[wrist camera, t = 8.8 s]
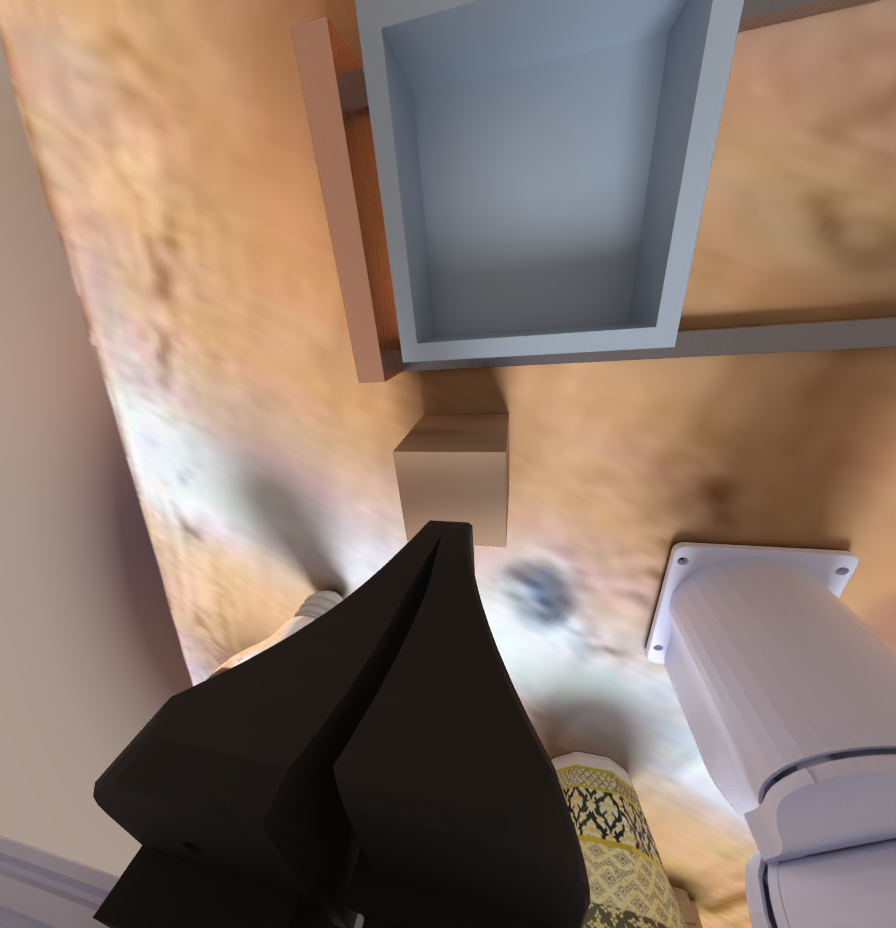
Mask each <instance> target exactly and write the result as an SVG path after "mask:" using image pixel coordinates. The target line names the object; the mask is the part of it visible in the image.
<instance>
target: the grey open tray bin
mask: <svg viewBox="0 0 896 928" xmlns="http://www.w3.org/2000/svg"><path fill="white" fill-rule="evenodd" d="M743 3H744V0H355V8H356V15H357V23H358V30H359V38H360V45H361V53H362V60H363V68H364V75H365V83H366V90H367V98H368V105H369V113H370V120H371V128H372V135H373V143H374V150H375V158H376V165H377V173H378V180H379V188H380V195H381V203H382V210H383V218H384V225H385V233H386V240H387V248H388V255H389V263H390V270H391V278H392V285H393V293H394V300H395V308H396V315H397V323H398V330H399V338H400V345H401V353H402V360H403V362H420V361H437V360H455V359H473V358H490V357H508V356H525V355H543V354H561V353H578V352H596V351H614V350H631V349H649V348H667V347H675V343H676V338H677V333H678V328H679V323H680V318H681V313H682V308H683V303H684V298H685V293H686V288H687V283H688V278H689V273H690V268H691V263H692V258H693V253H694V248H695V243H696V238H697V233H698V228H699V223H700V218H701V213H702V208H703V203H704V198H705V193H706V188H707V183H708V178H709V173H710V168H711V163H712V158H713V153H714V148H715V143H716V138H717V133H718V128H719V123H720V118H721V113H722V108H723V103H724V98H725V93H726V88H727V83H728V78H729V73H730V68H731V63H732V58H733V53H734V48H735V43H736V38H737V33H738V28H739V23H740V18H741V13H742V8H743Z"/></svg>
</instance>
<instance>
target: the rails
mask: <svg viewBox="0 0 896 928" xmlns="http://www.w3.org/2000/svg"><path fill="white" fill-rule="evenodd" d="M874 1H879V0H744V3H743V8H742V13H741V18H740V23H739V28H738V32H741V31H746V30H750V29H754V28H759V27H763V26H768V25H772V24H777V23H781V22H785V21H790V20H794V19H799V18H803V17H808V16H812V15H817V14H821V13H825V12H830V11H834V10H839V9H843V8H848V7H852V6H856V5H861V4H865V3H870V2H874ZM290 28H291V33H292V38H293V44H294V49H295V54H296V59H297V64H298V69H299V75H300V80H301V85H302V90H303V95H304V101H305V106H306V111H307V116H308V121H309V127H310V132H311V137H312V142H313V147H314V152H315V158H316V163H317V168H318V173H319V178H320V184H321V189H322V194H323V199H324V204H325V209H326V215H327V220H328V225H329V230H330V235H331V241H332V246H333V251H334V256H335V261H336V267H337V272H338V277H339V282H340V287H341V292H342V298H343V303H344V308H345V313H346V318H347V324H348V329H349V334H350V339H351V344H352V350H353V355H354V360H355V365H356V370H357V375H358V381H359V383H366V382H385V381H387V380H388V379H390V378H392V377H394V376H395V375H397V374H399V373H401V372H403V371H423V370H443V369H462V368H482V367H502V366H521V365H541V364H561V363H581V362H600V361H620V360H640V359H659V358H679V357H699V356H719V355H738V354H758V353H778V352H798V351H817V350H837V349H857V348H876V347H896V316H894V317H879V318H864V319H848V320H833V321H818V322H803V323H788V324H772V325H757V326H742V327H727V328H712V329H696V330H681V331H678V333H677V338H676V343H675V347H667V348H649V349H631V350H614V351H596V352H578V353H561V354H543V355H525V356H508V357H490V358H473V359H455V360H437V361H420V362H403V360H402V353H401V345H400V338H399V330H398V323H397V315H396V308H395V300H394V293H393V285H392V278H391V270H390V263H389V255H388V248H387V240H386V233H385V225H384V218H383V210H382V203H381V195H380V188H379V180H378V173H377V165H376V158H375V150H374V143H373V135H372V128H371V120H370V113H369V105H368V98H367V90H366V83H365V75H364V68H361V67H360V66H359V64H358V63H357V61H356V60H355V58H354V57H353V55H352V54H351V52H350V51H349V49H348V48H347V46H346V45H345V43H344V42H343V40H342V39H341V37H340V36H339V34H338V33H337V31H336V30H335V28H334V27H333V25H332V24H331V22H330V21H329V19H328V18H327V16H325V17H322V18H318V19H315V20H312V21H308V22H305V23H302V24H298V25H295V26H292V27H290Z"/></svg>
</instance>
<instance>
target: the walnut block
mask: <svg viewBox="0 0 896 928" xmlns="http://www.w3.org/2000/svg"><path fill="white" fill-rule="evenodd" d="M393 456H394V462H395V468H396V474H397V480H398V487H399V493H400V499H401V505H402V511H403V518H404V524H405V530H406V536H407V541H410V540H411V539H412V538H413V537H414V536H415V535H416V534H417V533H418V532H419V531H420V530H421V529H422V528H423V527H424V526H425V525H426V524H427V523H428V522H429V521H430V520H433V521H452V522H469V523H470V524H471V525H472V526H473V545H479V546H495V547H506V537H507V518H508V499H509V414H462V415H424V416H423V417H422V418H421V419H420V420H419V422H418V423H417V424H416V425H415V426H414V427H413V429H412V430H411V431H410V432H409V433H408V434H407V436H406V437H405V438H404V439H403V440H402V442H401V443H400V444H399V445H398V446H397V447H396V449H395V450H394V451H393Z"/></svg>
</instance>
